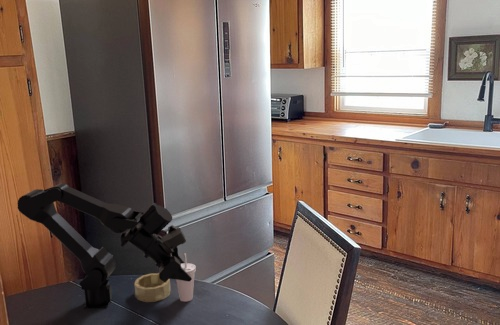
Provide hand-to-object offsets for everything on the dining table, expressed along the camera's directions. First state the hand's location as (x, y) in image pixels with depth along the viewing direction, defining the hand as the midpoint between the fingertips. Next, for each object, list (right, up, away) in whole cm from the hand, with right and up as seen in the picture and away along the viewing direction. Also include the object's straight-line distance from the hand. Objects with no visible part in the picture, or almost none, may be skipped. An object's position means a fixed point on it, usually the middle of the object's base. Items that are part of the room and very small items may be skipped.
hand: (189, 275), depth 135 cm
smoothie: (-1, -7, +1) cm, 7 cm away
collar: (-11, -7, +5) cm, 14 cm away
